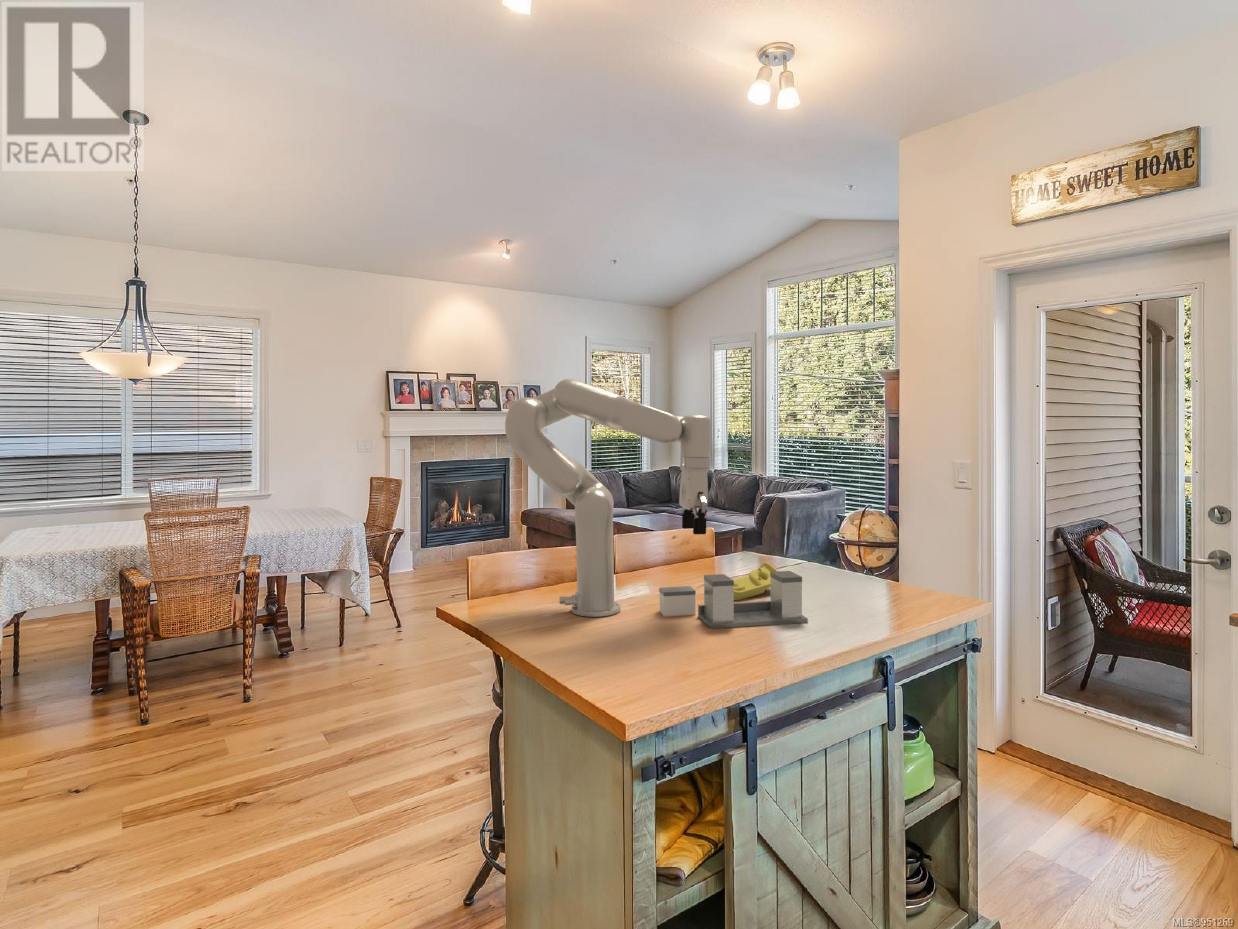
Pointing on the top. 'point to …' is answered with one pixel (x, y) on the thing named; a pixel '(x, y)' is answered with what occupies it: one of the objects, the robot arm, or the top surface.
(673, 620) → the top surface
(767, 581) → the plastic component
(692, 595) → the block
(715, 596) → the grey fixture holder
